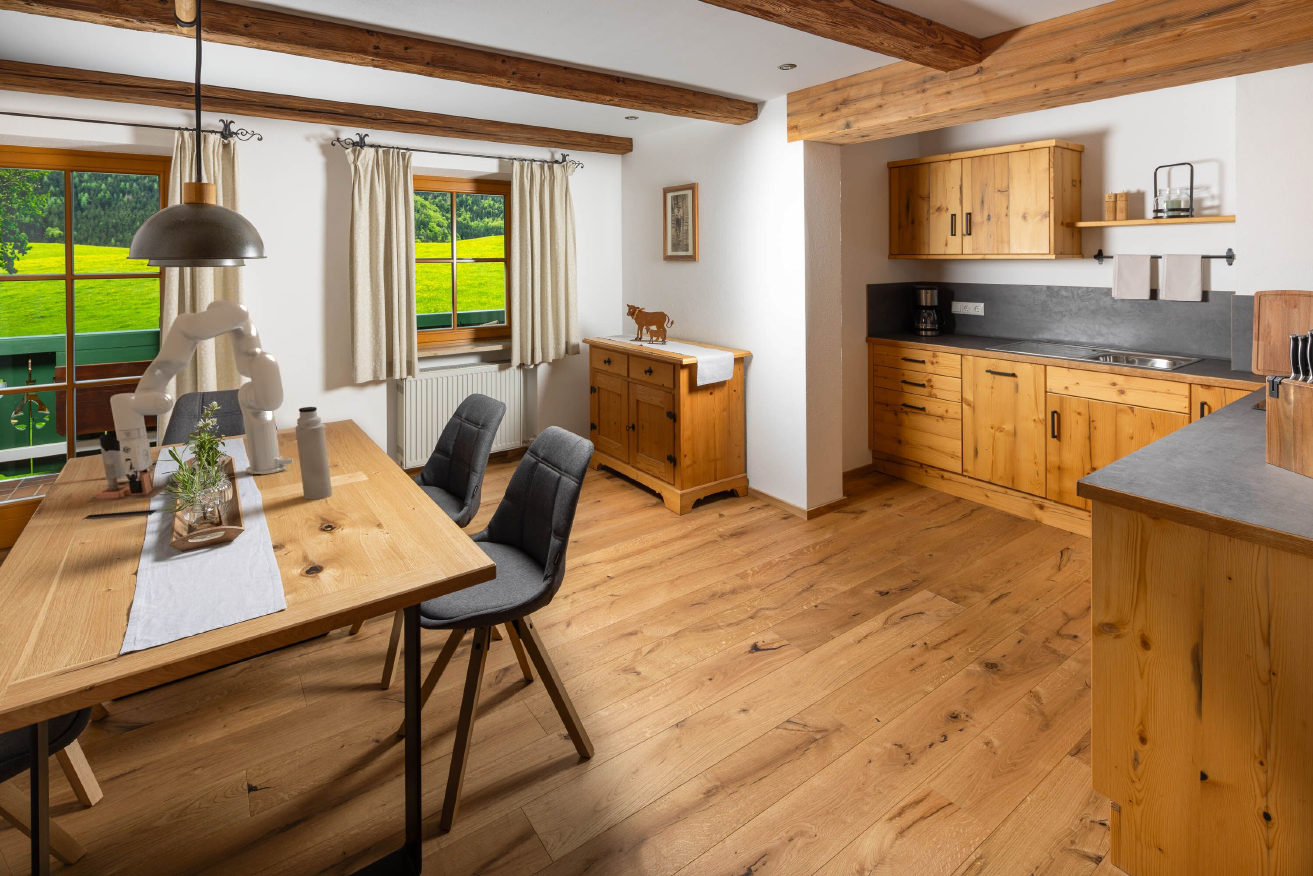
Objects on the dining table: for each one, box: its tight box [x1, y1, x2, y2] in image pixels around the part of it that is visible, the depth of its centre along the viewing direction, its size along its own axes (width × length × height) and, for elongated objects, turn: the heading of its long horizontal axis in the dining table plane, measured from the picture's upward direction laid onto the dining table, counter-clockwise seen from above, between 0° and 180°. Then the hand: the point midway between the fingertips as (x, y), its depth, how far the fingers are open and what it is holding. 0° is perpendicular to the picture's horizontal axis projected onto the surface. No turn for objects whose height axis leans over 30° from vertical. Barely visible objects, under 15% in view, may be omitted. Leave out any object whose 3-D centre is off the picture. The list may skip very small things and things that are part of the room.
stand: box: [86, 459, 166, 503], centre depth 228 cm, size 18×13×12 cm
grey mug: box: [99, 432, 151, 481], centre depth 252 cm, size 9×14×15 cm, turn 114°
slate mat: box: [82, 509, 157, 521], centre depth 217 cm, size 17×12×1 cm
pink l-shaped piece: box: [95, 472, 152, 499], centre depth 228 cm, size 13×7×6 cm, turn 103°
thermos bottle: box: [295, 406, 333, 500], centre depth 227 cm, size 8×8×28 cm
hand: (141, 489), depth 230 cm, fingers open, 5 cm apart
